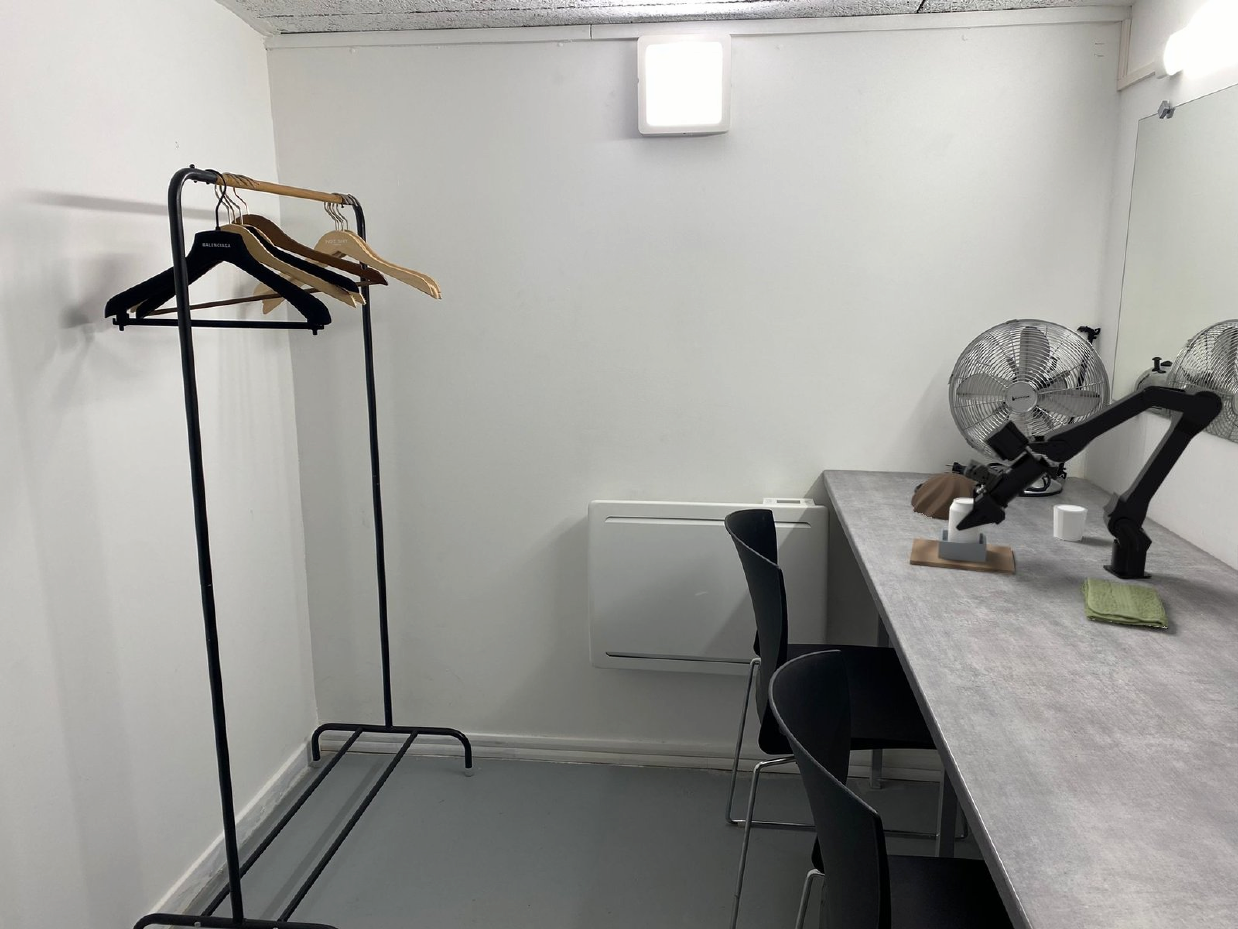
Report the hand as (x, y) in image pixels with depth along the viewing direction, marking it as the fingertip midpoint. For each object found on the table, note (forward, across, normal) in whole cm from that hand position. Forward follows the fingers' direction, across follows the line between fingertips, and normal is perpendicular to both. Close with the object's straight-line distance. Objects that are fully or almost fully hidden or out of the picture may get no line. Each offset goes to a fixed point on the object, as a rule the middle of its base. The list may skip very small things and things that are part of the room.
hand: (957, 524), depth 188 cm
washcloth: (-14, +21, +26) cm, 36 cm away
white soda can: (+4, 0, +6) cm, 7 cm away
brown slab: (+4, 0, +6) cm, 7 cm away
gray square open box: (+4, 0, +6) cm, 7 cm away
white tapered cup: (-11, -22, +22) cm, 33 cm away
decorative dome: (+6, -38, +4) cm, 39 cm away
